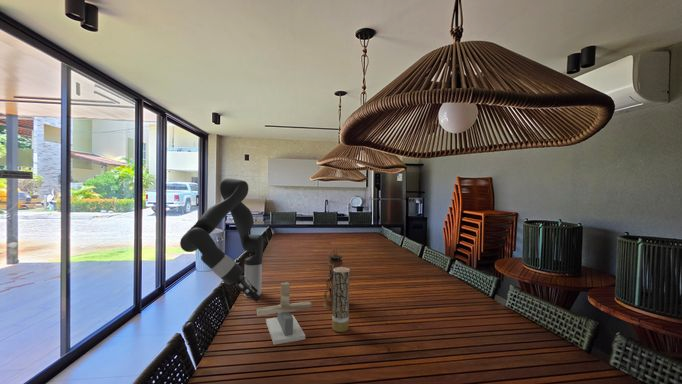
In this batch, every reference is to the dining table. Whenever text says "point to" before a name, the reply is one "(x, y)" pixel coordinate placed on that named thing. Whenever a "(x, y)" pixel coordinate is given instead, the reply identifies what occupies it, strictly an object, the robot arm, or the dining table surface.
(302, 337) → the ridge stand
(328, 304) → the lantern
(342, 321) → the bark print canister
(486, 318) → the dining table surface
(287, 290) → the birch T-bar
